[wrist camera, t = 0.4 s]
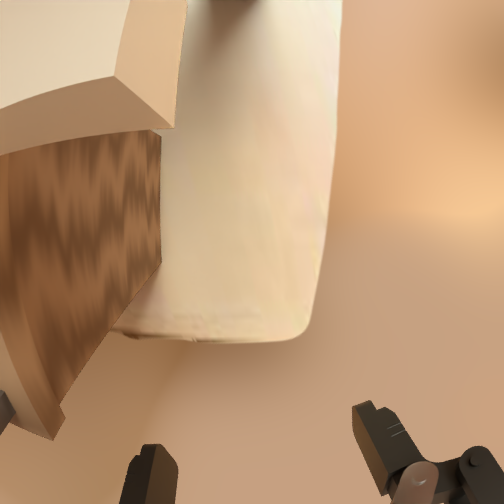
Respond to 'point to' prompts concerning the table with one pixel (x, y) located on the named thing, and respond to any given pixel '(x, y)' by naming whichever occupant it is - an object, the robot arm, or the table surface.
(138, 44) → the bar
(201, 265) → the table surface
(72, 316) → the tall stand
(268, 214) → the table surface
